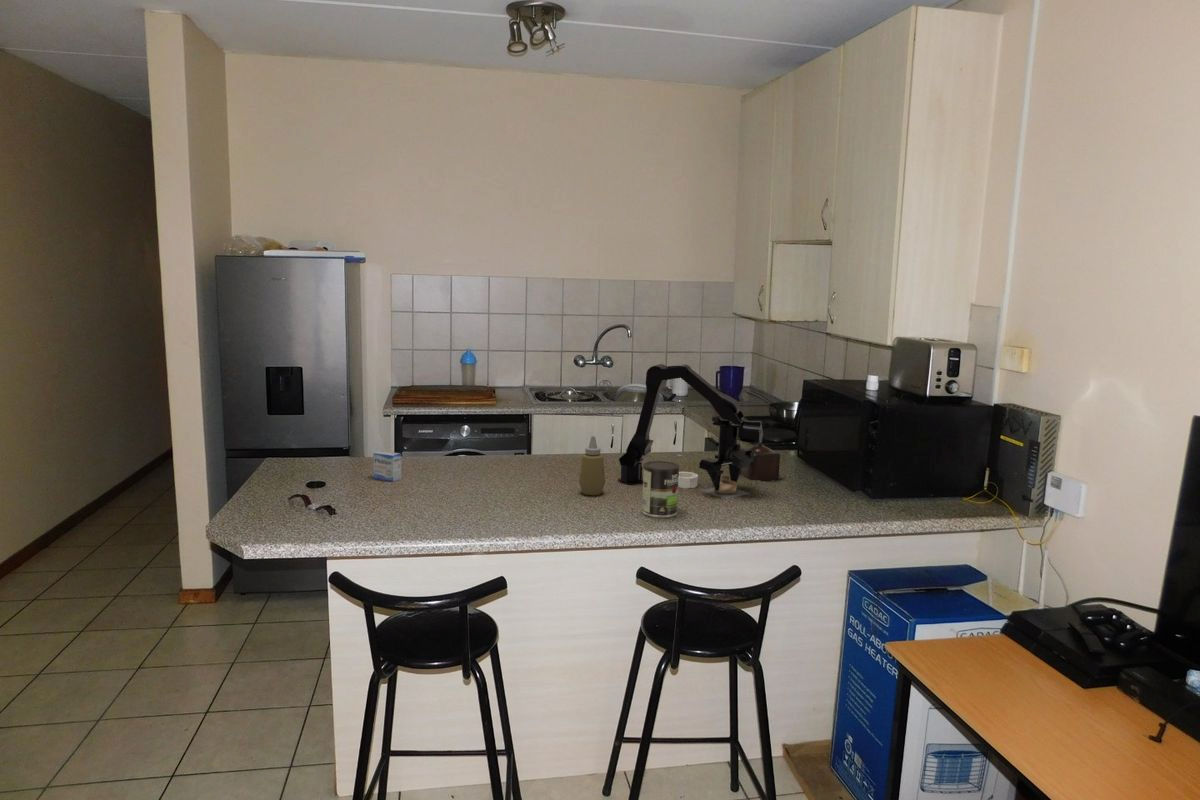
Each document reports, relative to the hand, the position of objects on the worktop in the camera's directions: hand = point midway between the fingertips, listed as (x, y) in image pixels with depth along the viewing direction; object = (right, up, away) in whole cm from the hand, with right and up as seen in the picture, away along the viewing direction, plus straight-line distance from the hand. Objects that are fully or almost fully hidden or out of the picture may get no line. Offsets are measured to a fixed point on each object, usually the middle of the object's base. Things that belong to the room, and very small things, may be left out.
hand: (725, 488), depth 250 cm
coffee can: (-22, -5, -20) cm, 30 cm away
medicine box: (-108, +2, +8) cm, 108 cm away
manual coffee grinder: (+12, +1, +21) cm, 24 cm away
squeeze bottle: (-42, -1, -3) cm, 42 cm away
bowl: (-12, 0, +7) cm, 14 cm away
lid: (0, -1, 0) cm, 1 cm away
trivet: (0, -2, 0) cm, 2 cm away
